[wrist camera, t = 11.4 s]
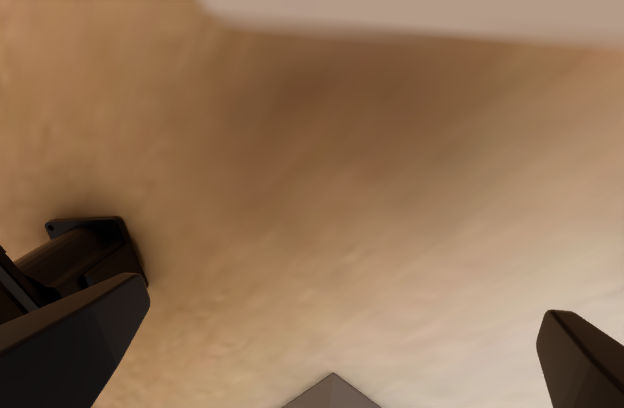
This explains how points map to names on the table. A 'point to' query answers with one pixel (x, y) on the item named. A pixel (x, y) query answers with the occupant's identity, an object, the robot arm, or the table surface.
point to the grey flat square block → (332, 396)
